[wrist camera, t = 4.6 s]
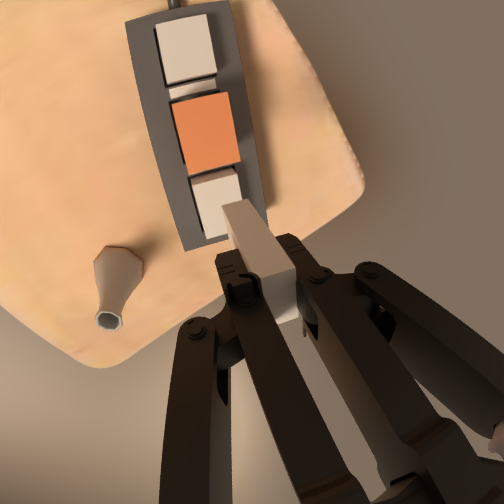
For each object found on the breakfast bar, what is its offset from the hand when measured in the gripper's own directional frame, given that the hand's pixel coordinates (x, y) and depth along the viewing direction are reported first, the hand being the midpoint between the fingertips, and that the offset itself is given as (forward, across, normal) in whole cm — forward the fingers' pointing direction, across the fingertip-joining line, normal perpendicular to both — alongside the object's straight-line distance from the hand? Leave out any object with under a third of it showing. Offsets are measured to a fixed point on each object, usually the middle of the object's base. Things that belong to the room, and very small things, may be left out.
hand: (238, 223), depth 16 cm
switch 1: (+16, 0, +12) cm, 20 cm away
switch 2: (+13, 0, +4) cm, 13 cm away
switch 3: (+15, 0, -4) cm, 16 cm away
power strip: (+18, 0, +7) cm, 19 cm away
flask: (+18, -15, -11) cm, 26 cm away
